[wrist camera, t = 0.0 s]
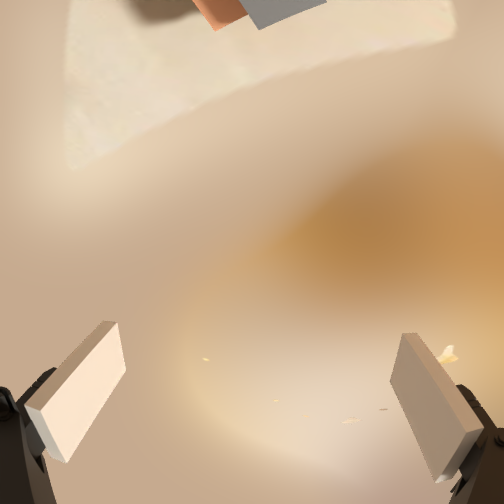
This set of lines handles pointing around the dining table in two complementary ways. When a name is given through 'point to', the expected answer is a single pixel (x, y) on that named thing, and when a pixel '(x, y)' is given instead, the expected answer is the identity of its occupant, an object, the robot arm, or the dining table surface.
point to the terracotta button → (220, 11)
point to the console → (275, 9)
